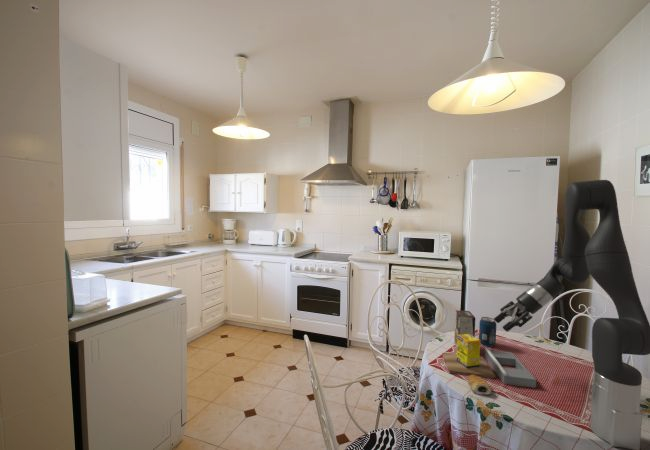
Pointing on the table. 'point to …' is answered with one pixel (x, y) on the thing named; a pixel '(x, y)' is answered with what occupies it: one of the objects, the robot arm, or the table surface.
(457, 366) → the tan flat board
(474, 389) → the pastry
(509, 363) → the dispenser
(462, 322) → the coffee box
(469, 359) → the supplement box
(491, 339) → the soda can
